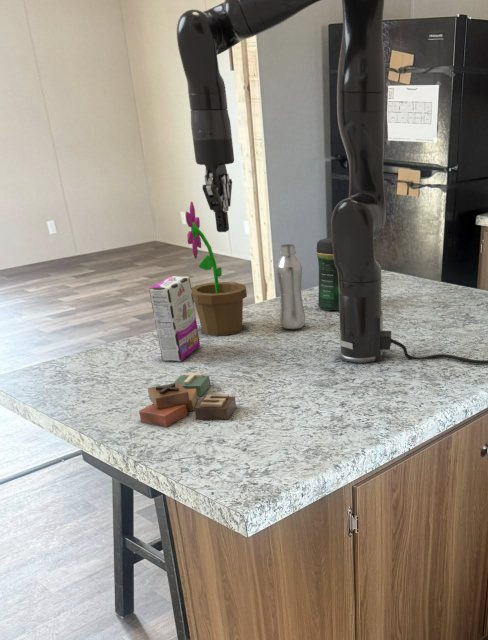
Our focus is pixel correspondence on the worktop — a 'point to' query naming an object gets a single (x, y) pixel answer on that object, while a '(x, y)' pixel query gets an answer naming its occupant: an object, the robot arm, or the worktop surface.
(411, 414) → the worktop surface
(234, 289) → the flowerpot
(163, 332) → the candy bar box
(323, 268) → the coffee jar
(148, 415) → the letter pile
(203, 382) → the letter T
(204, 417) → the letter S
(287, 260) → the silver metal bottle
